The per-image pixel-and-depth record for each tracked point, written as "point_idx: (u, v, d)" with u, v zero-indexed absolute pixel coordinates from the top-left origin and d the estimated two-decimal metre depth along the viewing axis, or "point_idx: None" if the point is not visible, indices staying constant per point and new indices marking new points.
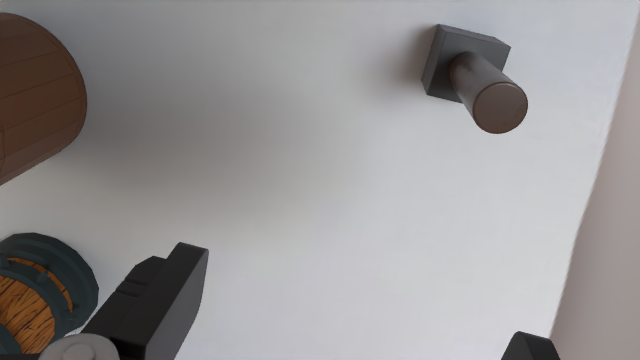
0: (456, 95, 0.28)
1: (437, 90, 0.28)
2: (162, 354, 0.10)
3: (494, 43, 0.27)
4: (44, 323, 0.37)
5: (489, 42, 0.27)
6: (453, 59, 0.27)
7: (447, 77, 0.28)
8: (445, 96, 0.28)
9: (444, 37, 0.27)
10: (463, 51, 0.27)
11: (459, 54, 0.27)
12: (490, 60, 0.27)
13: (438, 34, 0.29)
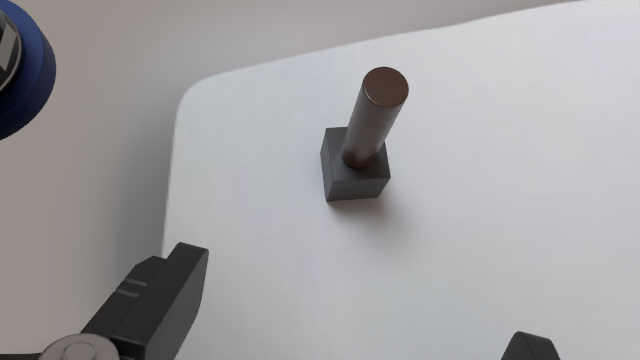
0: (381, 153, 0.31)
1: (383, 170, 0.30)
2: (162, 354, 0.10)
3: (328, 141, 0.31)
4: None
5: (328, 145, 0.31)
6: (353, 167, 0.30)
7: (369, 166, 0.30)
8: (385, 162, 0.30)
9: (338, 182, 0.30)
10: (343, 162, 0.30)
11: (347, 164, 0.30)
12: (342, 138, 0.31)
13: (335, 194, 0.32)
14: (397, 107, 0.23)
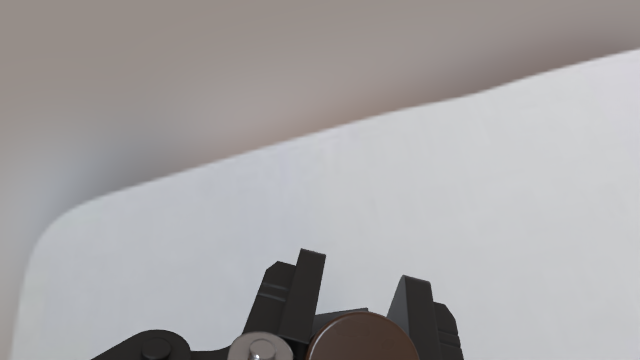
0: None
1: None
2: None
3: None
4: None
5: None
6: None
7: None
8: None
9: None
10: None
11: None
12: None
13: None
14: None
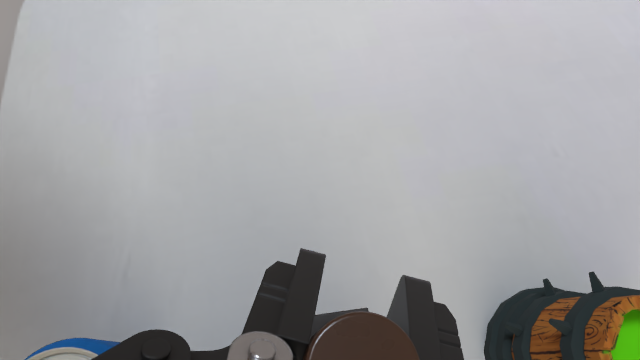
0: None
1: None
2: None
3: None
4: (562, 302, 0.31)
5: None
6: None
7: None
8: None
9: None
10: None
11: None
12: None
13: None
14: None
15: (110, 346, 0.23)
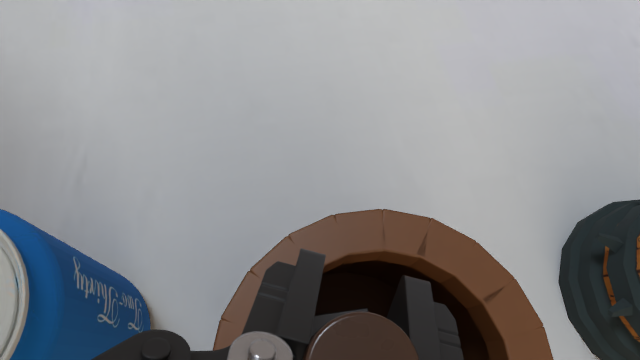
0: None
1: None
2: None
3: None
4: None
5: None
6: None
7: None
8: None
9: None
10: None
11: None
12: None
13: None
14: None
15: (15, 216, 0.14)
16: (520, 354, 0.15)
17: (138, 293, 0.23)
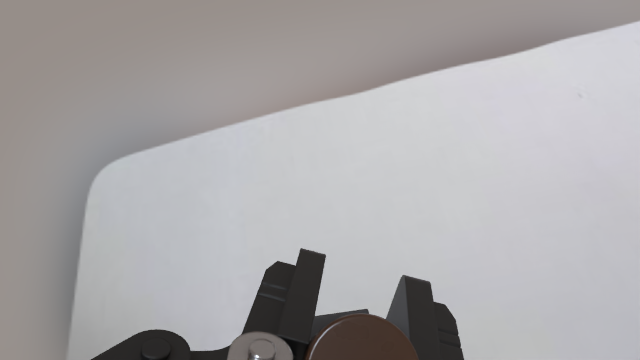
0: None
1: None
2: None
3: None
4: None
5: None
6: None
7: None
8: None
9: None
10: None
11: None
12: None
13: None
14: None
15: None
16: None
17: None
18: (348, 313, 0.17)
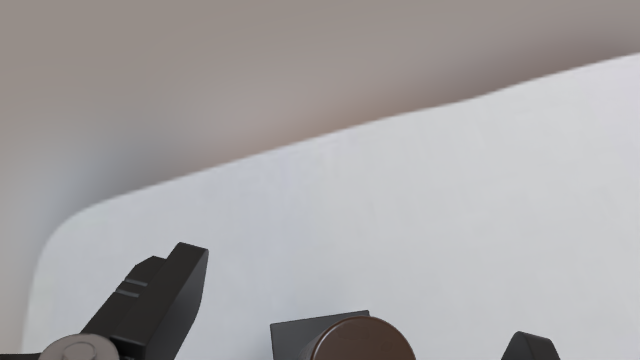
0: None
1: None
2: (162, 354, 0.10)
3: (273, 350, 0.17)
4: None
5: (275, 359, 0.17)
6: None
7: None
8: None
9: None
10: None
11: None
12: (299, 344, 0.17)
13: None
14: None
15: None
16: None
17: None
18: (349, 314, 0.18)
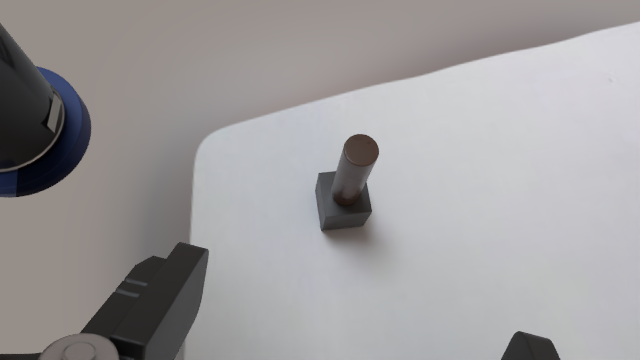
0: (363, 192, 0.38)
1: (365, 205, 0.38)
2: (162, 354, 0.10)
3: (320, 184, 0.38)
4: None
5: (321, 187, 0.38)
6: (341, 204, 0.37)
7: (354, 203, 0.38)
8: (367, 198, 0.38)
9: (329, 217, 0.37)
10: (333, 201, 0.38)
11: (336, 202, 0.37)
12: (332, 181, 0.38)
13: (328, 225, 0.40)
14: (370, 165, 0.30)
15: None
16: None
17: None
18: None
